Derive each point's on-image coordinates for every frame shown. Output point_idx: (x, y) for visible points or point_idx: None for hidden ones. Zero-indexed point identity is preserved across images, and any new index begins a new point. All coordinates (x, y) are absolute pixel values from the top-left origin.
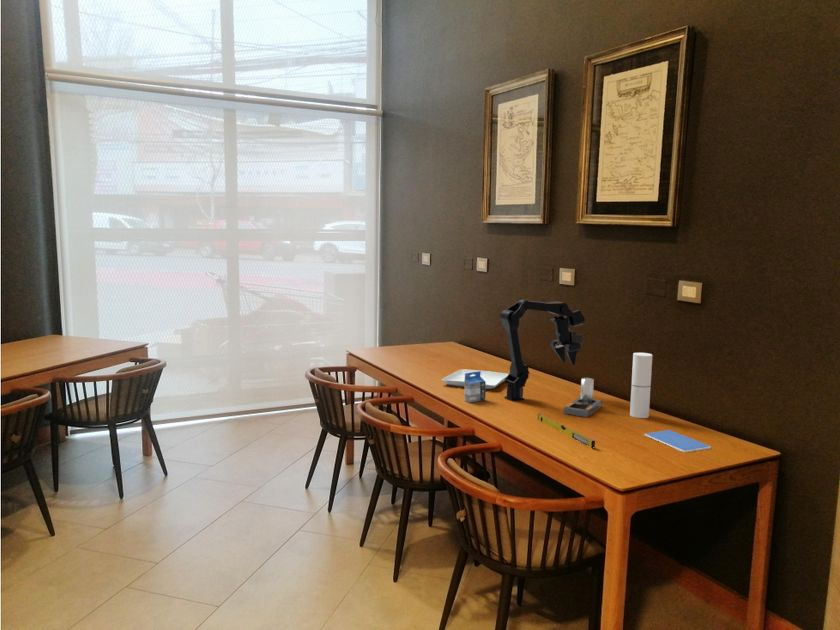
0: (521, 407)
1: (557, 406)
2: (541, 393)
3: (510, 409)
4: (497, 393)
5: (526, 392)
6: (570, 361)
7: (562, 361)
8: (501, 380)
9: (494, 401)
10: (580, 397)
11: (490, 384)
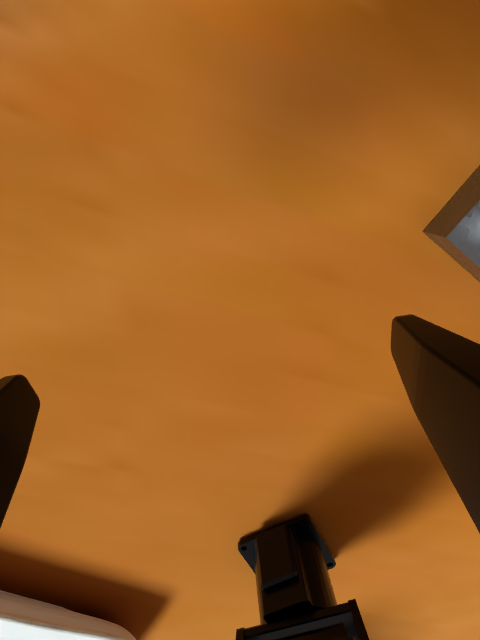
0: (439, 541)
1: None
2: (170, 408)
3: (457, 581)
4: (176, 600)
5: (149, 480)
6: (424, 427)
7: (35, 420)
8: (21, 620)
9: None
10: (461, 233)
11: (10, 623)
